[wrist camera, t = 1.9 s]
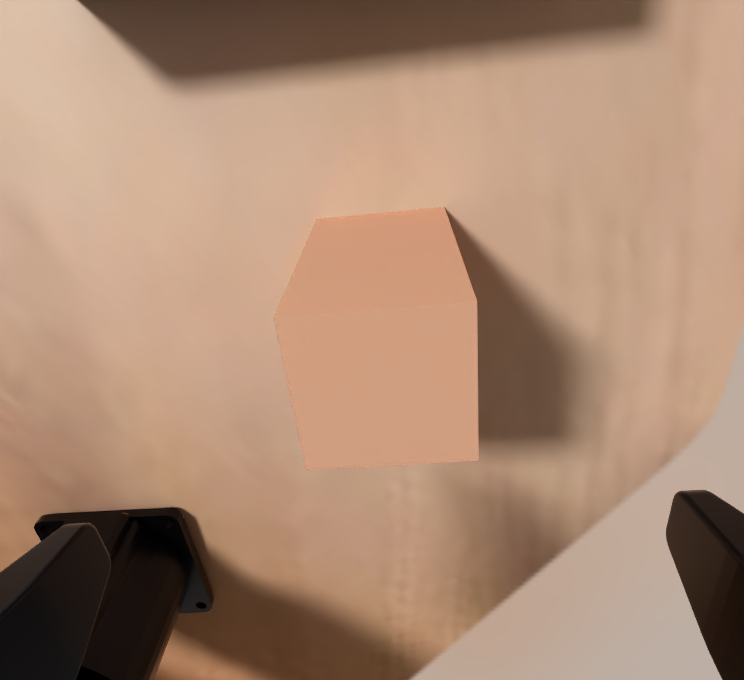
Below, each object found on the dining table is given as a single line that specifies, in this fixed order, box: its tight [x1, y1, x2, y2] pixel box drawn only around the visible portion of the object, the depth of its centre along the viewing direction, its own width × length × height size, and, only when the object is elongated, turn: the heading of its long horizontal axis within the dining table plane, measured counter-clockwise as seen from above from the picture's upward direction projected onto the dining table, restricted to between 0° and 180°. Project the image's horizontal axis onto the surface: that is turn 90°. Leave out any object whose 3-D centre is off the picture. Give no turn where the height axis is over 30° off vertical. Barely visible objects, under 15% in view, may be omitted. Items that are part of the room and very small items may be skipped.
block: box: [274, 207, 479, 470], centre depth 14 cm, size 4×4×7 cm
